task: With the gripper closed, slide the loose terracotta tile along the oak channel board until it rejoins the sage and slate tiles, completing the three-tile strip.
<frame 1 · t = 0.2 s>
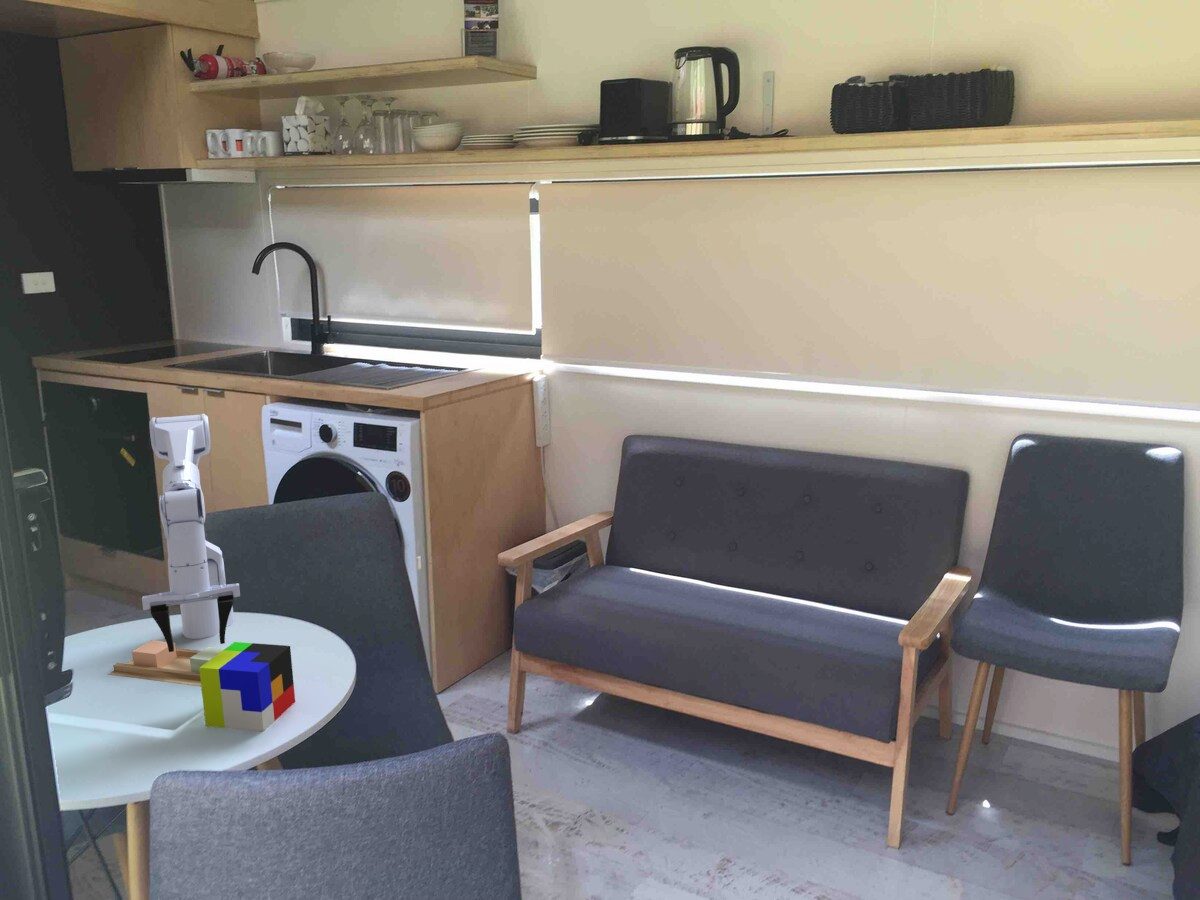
hand: (197, 646, 161), 10 cm above the table, tool pointing down, fingers open, 7 cm apart
terracotta tile: (155, 662, 177), point 1 cm above the table, touching oak channel board
puzzle toy: (251, 715, 160), on the table
oak channel board: (194, 673, 175), on the table
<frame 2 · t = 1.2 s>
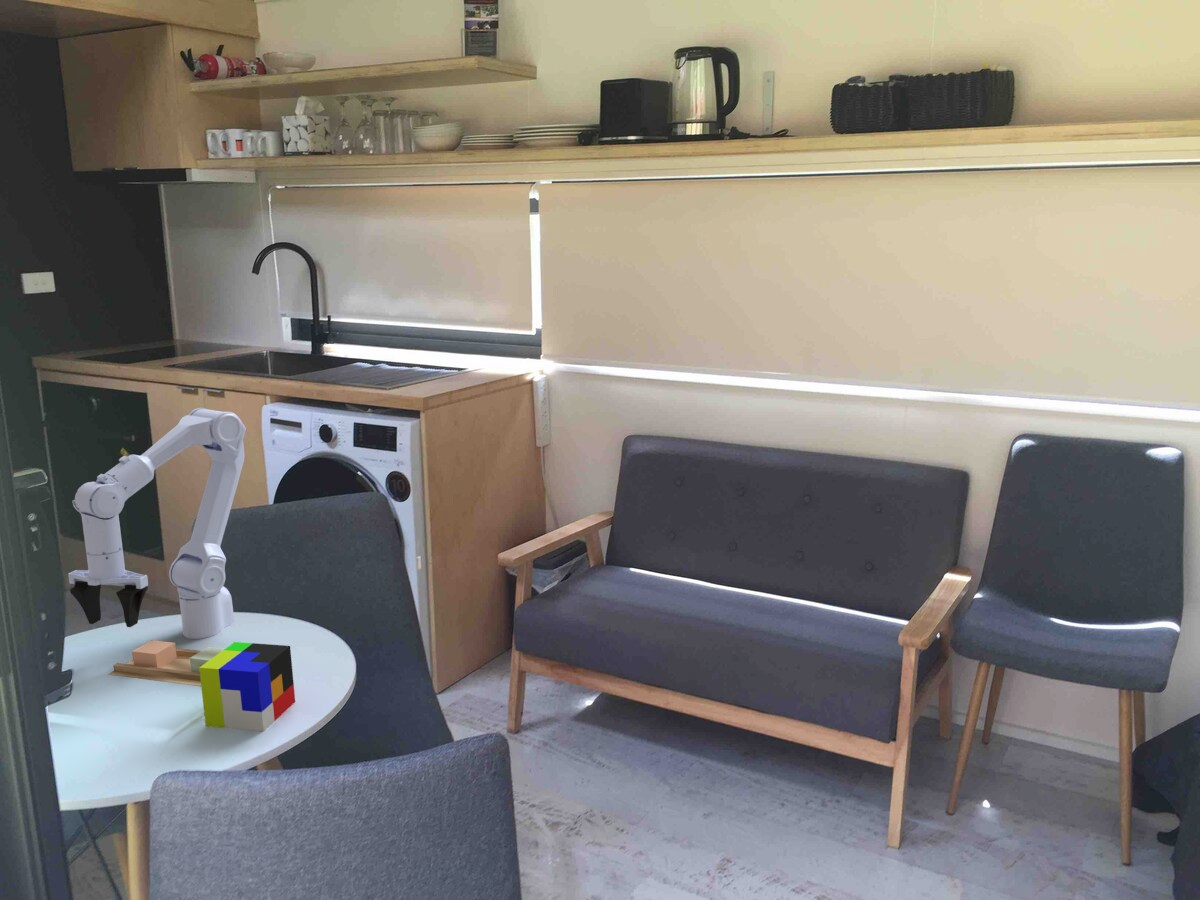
hand: (113, 623, 176), 9 cm above the table, tool pointing down, fingers open, 7 cm apart
nothing on the table moved.
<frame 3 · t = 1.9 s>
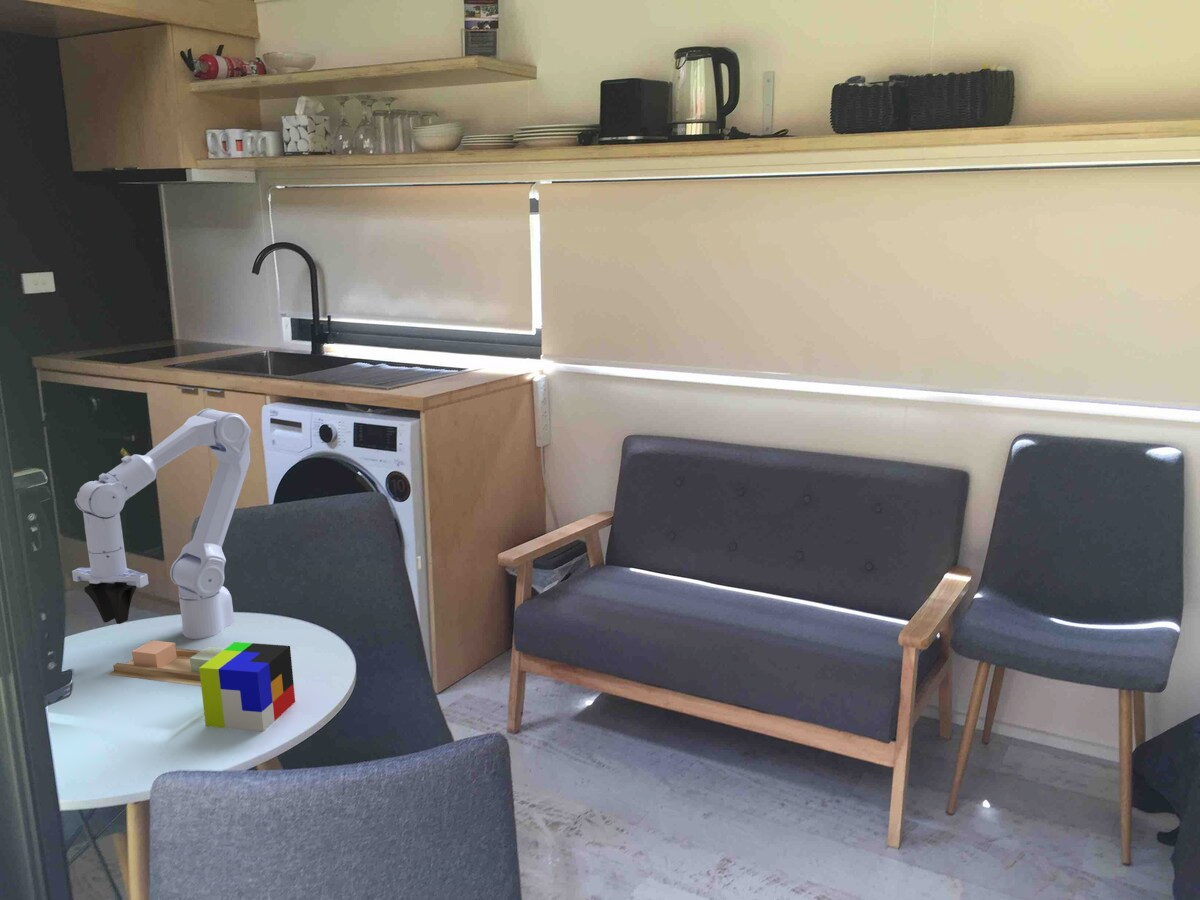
hand: (115, 621, 178), 8 cm above the table, tool pointing down, fingers closed
nothing on the table moved.
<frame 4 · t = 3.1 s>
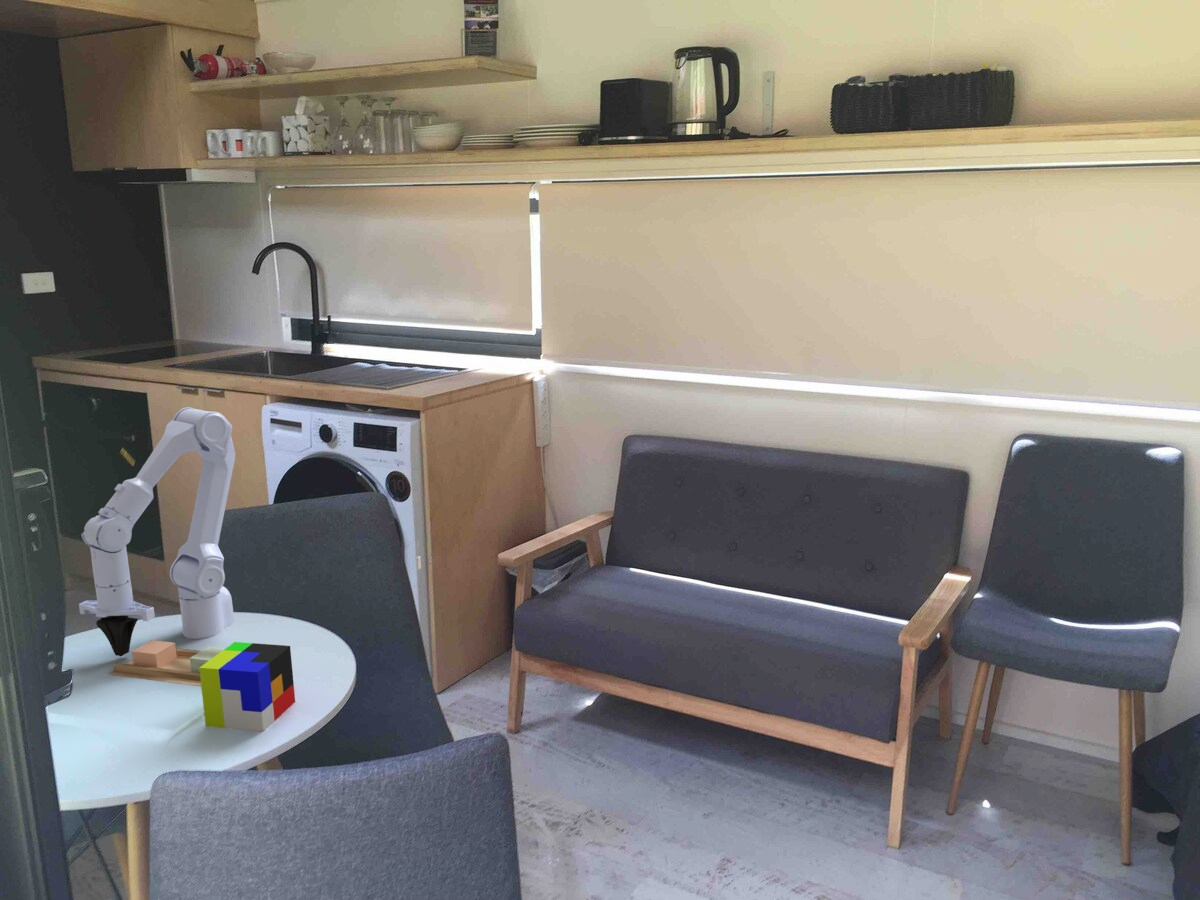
hand: (122, 653, 179), 2 cm above the table, tool pointing down, fingers closed
nothing on the table moved.
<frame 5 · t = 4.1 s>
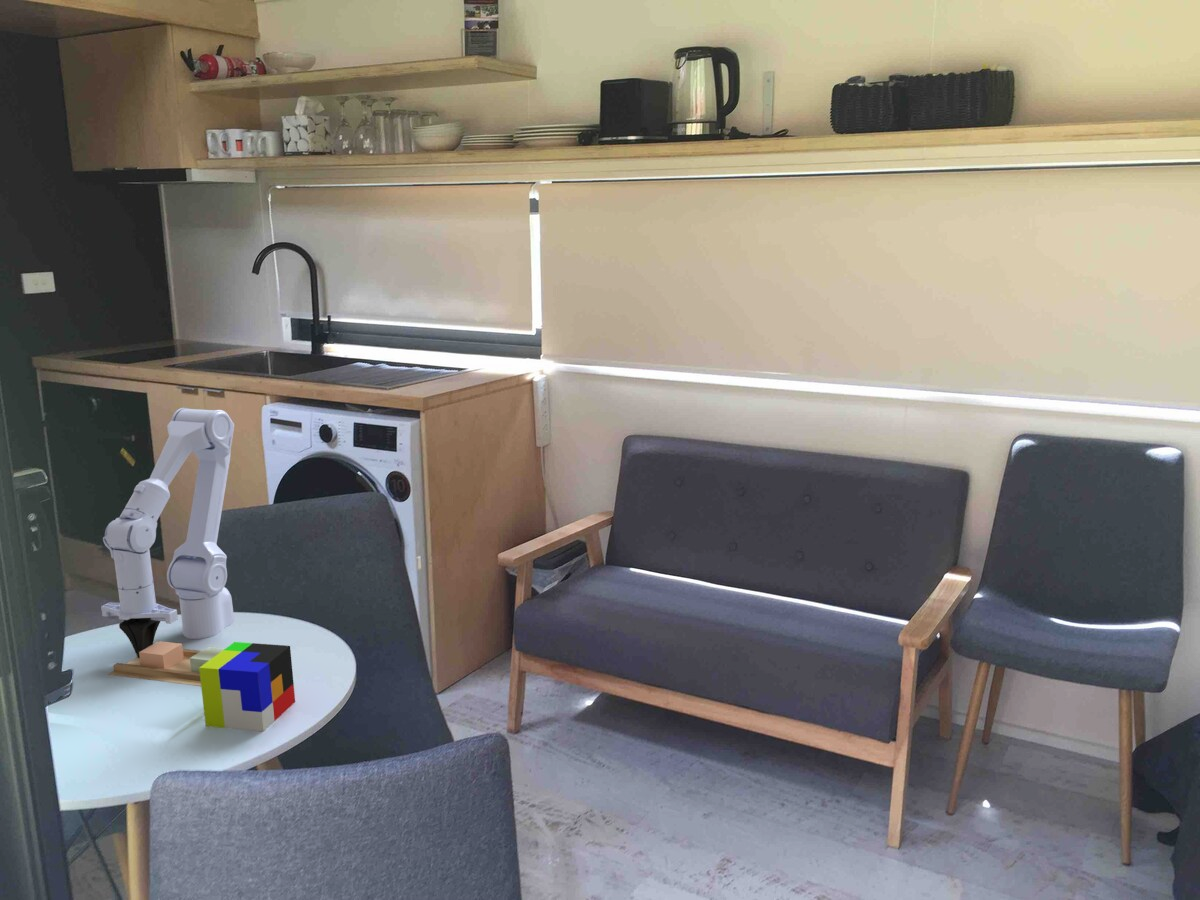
hand: (144, 656, 178), 2 cm above the table, tool pointing down, fingers closed
terracotta tile: (162, 663, 177), point 1 cm above the table, touching gripper
everything else where it was.
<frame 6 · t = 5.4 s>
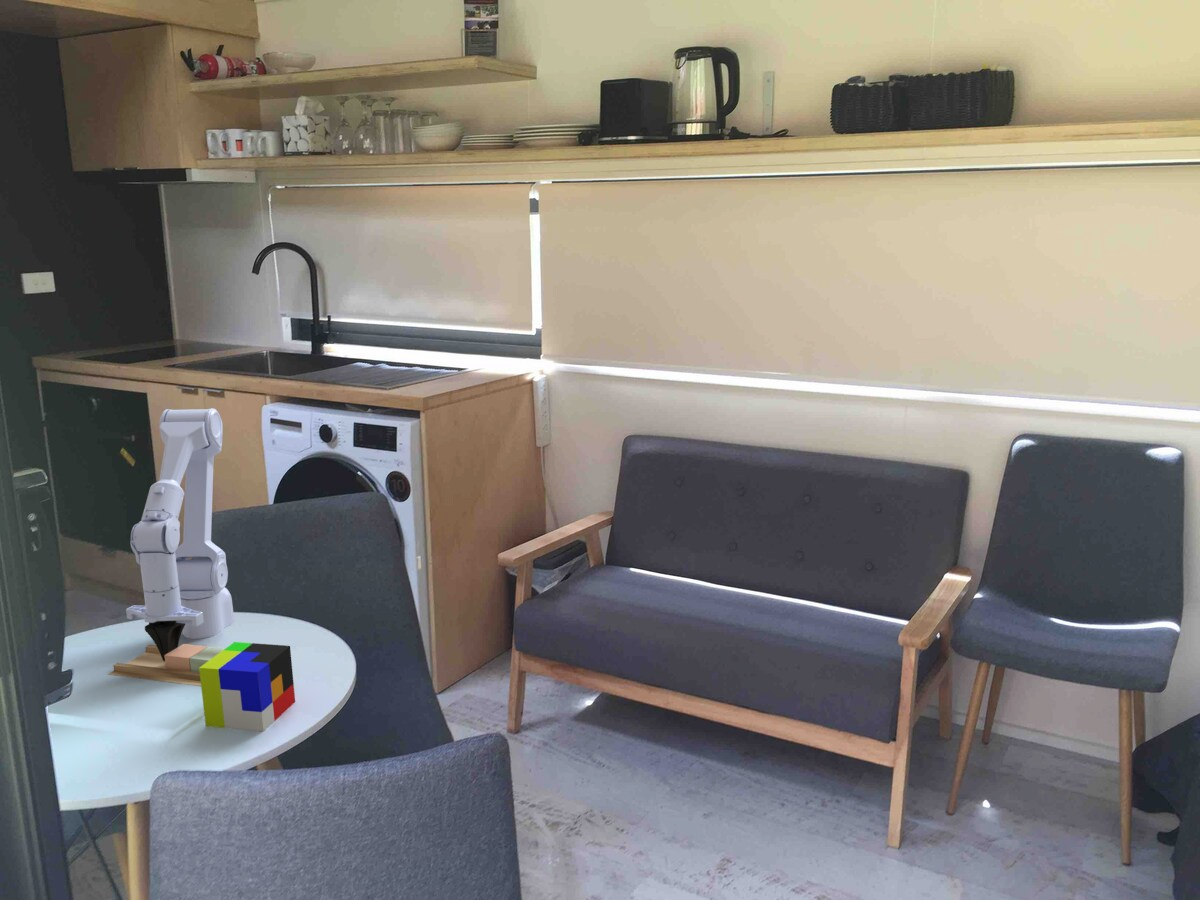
hand: (169, 659, 176), 2 cm above the table, tool pointing down, fingers closed
terracotta tile: (187, 666, 175), point 1 cm above the table, touching gripper, oak channel board
everything else where it was.
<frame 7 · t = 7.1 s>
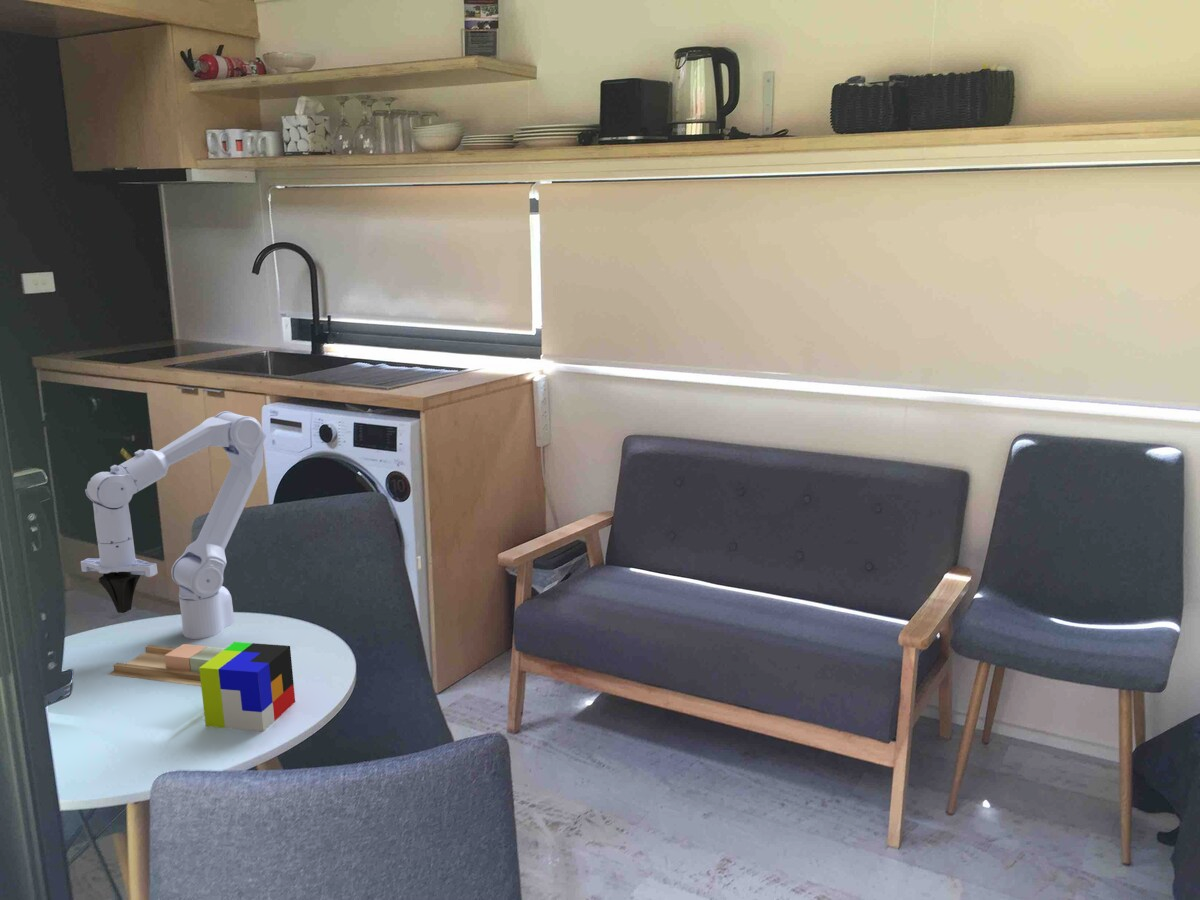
hand: (124, 610, 180), 9 cm above the table, tool pointing down, fingers closed
terracotta tile: (187, 666, 175), point 1 cm above the table, touching oak channel board
everything else where it was.
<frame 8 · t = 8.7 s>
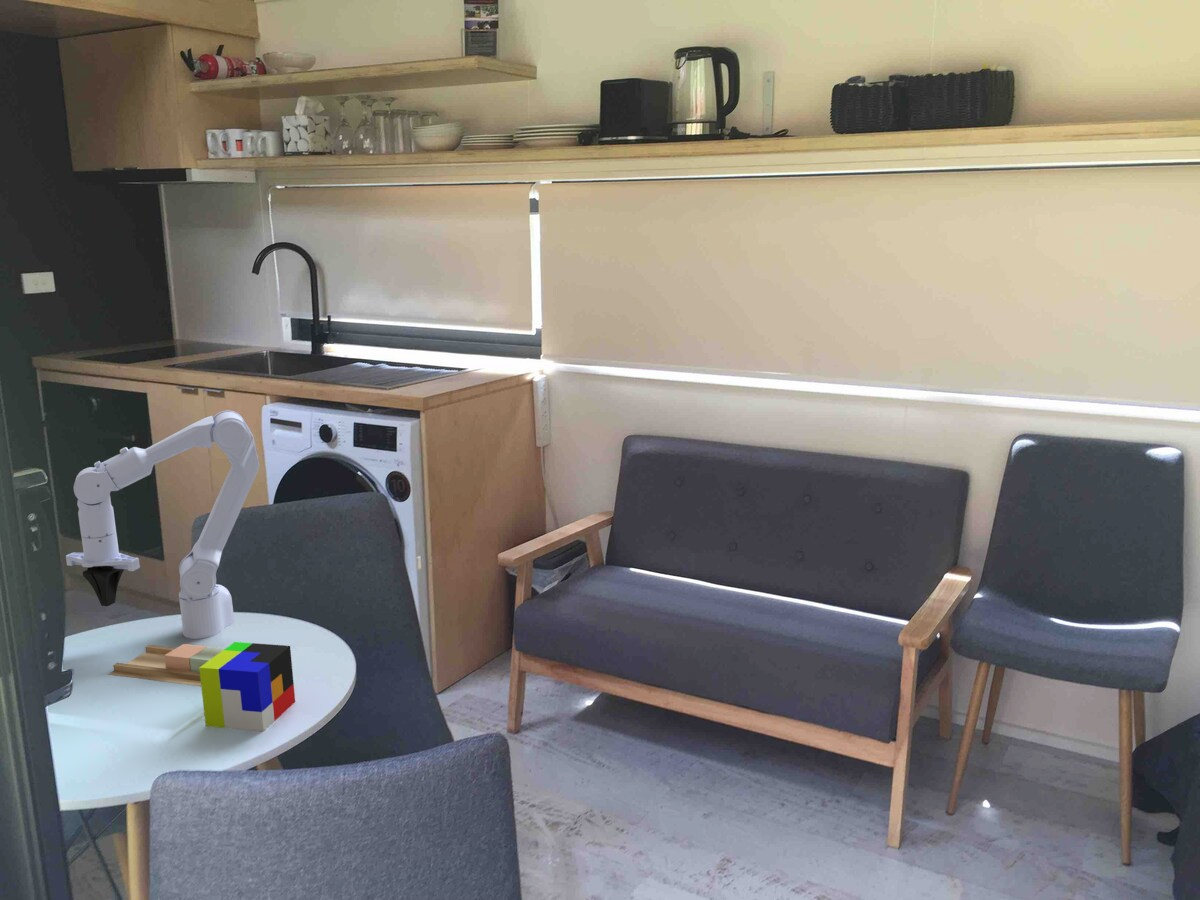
hand: (108, 604, 183), 9 cm above the table, tool pointing down, fingers closed
nothing on the table moved.
at the end: terracotta tile 0.1 cm from the target spot, point 1.2 cm above the table; terracotta tile tilted 0°; the gripper is holding nothing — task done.
